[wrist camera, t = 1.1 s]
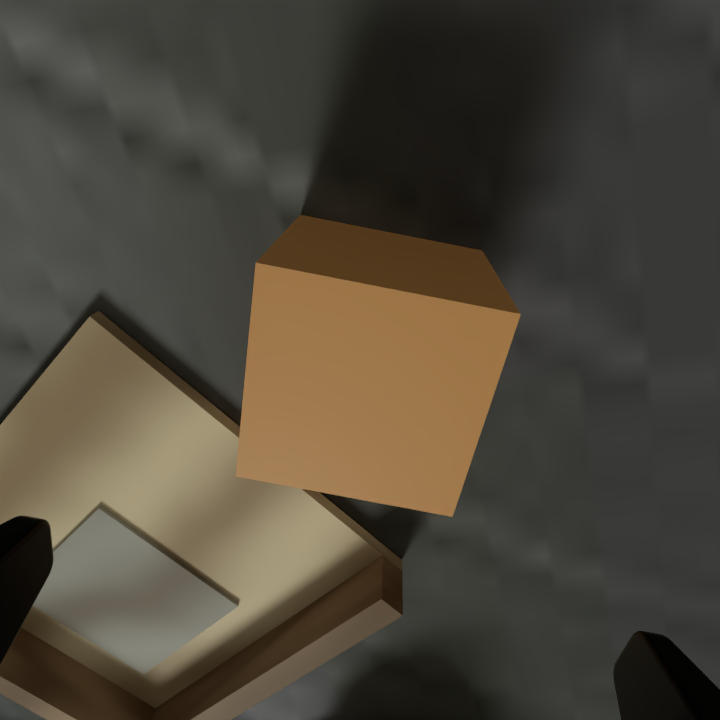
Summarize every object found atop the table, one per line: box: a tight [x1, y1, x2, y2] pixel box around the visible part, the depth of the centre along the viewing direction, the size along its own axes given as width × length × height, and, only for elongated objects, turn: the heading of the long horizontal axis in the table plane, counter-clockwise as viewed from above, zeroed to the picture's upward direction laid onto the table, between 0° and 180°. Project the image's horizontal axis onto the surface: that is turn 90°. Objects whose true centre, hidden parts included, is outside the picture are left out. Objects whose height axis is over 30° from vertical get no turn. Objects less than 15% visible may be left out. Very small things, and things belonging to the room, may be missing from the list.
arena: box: [0, 311, 403, 720], centre depth 23 cm, size 16×18×3 cm
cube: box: [236, 215, 521, 517], centre depth 16 cm, size 6×6×6 cm
